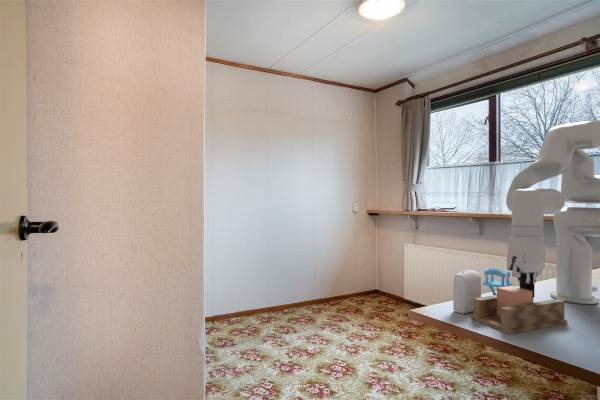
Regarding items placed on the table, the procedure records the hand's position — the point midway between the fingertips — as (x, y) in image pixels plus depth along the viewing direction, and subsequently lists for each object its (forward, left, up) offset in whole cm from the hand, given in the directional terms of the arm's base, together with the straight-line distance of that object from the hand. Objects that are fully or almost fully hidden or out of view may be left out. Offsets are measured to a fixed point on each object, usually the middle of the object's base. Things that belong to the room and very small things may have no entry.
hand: (526, 296), depth 95 cm
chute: (+3, 0, -7) cm, 7 cm away
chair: (-5, -13, -7) cm, 15 cm away
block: (+5, 0, -5) cm, 8 cm away
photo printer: (+9, -12, -7) cm, 17 cm away
